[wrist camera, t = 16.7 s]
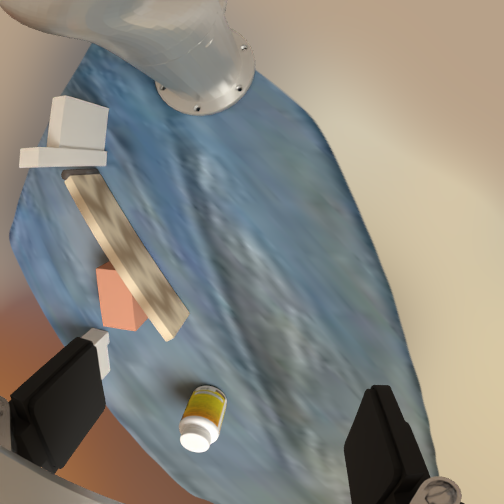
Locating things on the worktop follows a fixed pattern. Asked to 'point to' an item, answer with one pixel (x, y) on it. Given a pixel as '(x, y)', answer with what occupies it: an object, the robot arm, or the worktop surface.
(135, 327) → the salmon orange block
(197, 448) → the supplement bottle
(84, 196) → the gate door
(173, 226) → the worktop surface
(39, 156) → the wall frame
